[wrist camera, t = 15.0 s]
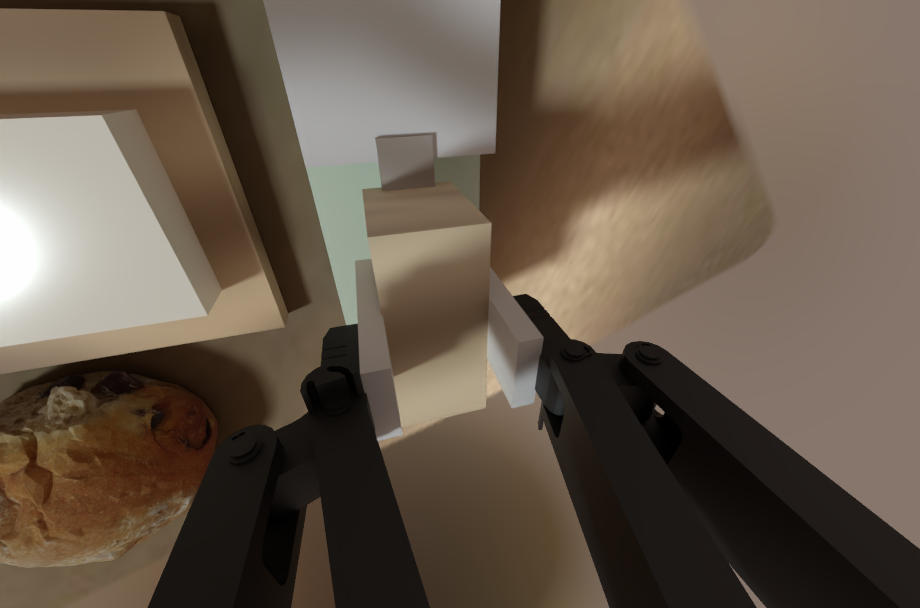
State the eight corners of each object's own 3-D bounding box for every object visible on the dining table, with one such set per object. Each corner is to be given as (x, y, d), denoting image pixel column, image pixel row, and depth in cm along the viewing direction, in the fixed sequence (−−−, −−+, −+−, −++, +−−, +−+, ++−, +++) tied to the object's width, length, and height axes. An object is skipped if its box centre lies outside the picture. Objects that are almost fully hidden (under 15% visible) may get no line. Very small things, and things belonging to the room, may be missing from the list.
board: (-419, 8, 8) (-516, 0, 8) (179, 16, 11) (164, 11, 10) (-26, 363, 15) (-50, 382, 14) (288, 313, 18) (285, 327, 17)
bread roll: (28, 390, 20) (-118, 559, 15) (23, 325, 14) (-216, 566, 9) (212, 433, 26) (148, 568, 21) (264, 398, 20) (191, 576, 15)
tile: (-246, 128, 8) (101, 115, 10) (-150, 119, 10) (136, 109, 11) (-15, 349, 12) (207, 315, 14) (28, 317, 14) (222, 290, 15)
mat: (230, -141, 10) (224, -152, 9) (478, -115, 11) (484, -124, 11) (348, 326, 19) (348, 333, 19) (474, 305, 21) (477, 310, 21)
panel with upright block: (486, 329, 19) (524, 398, 15) (354, 354, 17) (356, 438, 13) (499, -112, 10) (603, -243, 6) (230, -137, 8) (121, -335, 4)
